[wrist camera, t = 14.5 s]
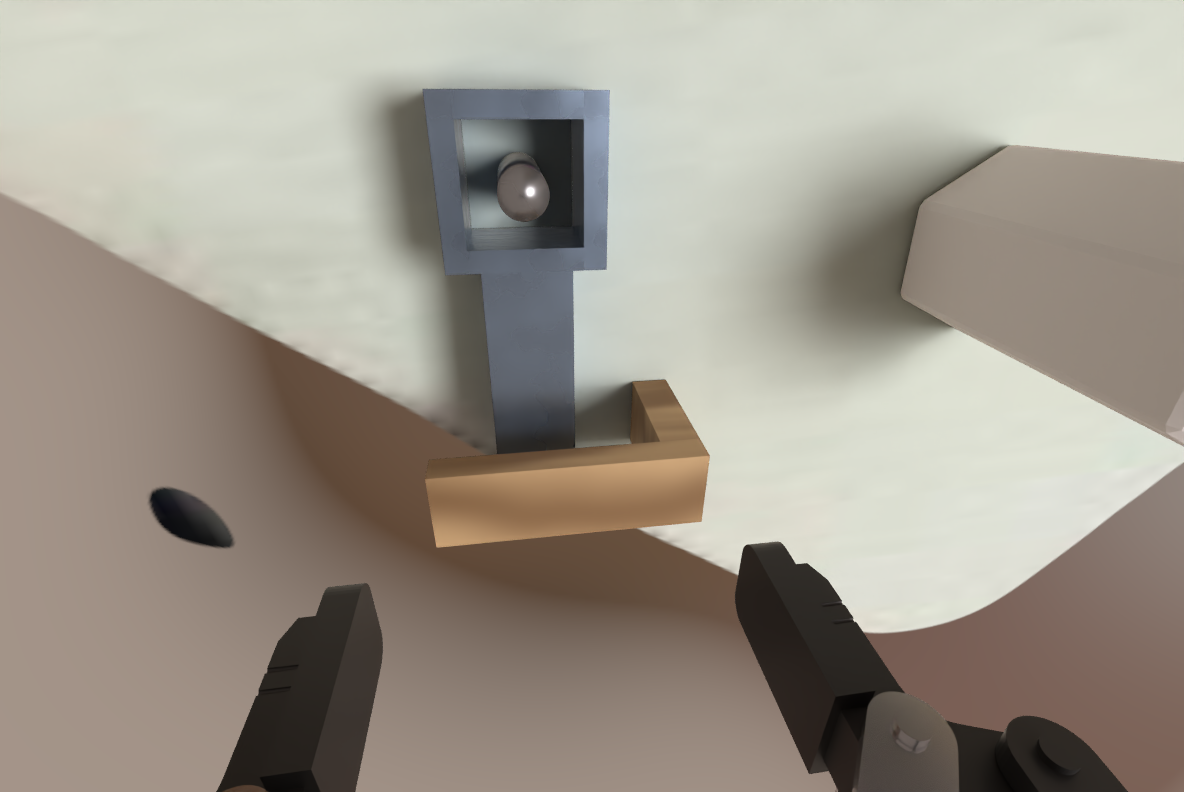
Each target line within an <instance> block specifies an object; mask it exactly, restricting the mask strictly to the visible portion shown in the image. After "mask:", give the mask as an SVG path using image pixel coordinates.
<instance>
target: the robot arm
mask: <svg viewBox="0 0 1184 792" xmlns="http://www.w3.org/2000/svg"><path fill="white" fill-rule="evenodd" d="M735 604H736V609H737V614H738V618H739V621H740V623H741V625H742V627H743V629H744V632H745V634H746V636H747V638H748V641H749V643H750V645H751V647H752V649H753V651H754V654H755V656H756V658H757V660H758V663H759V665H760V667H761V669H762V671H763V674H764V676H765V678H766V680H767V682H768V685H769V687H770V689H771V691H772V693H773V696H774V698H775V700H776V702H777V704H778V706H779V709H780V711H781V713H782V715H783V718H784V720H785V722H786V724H787V726H788V729H789V730H790V733H791V735H792V737H793V740H794V742H795V744H796V746H797V748H798V750H799V753H800V755H801V757H802V759H803V762H804V764H805V766H806V768H807V770H808V773H809V774H813V773H819V772H825V771H829V772H830V774H831V776H832V778H833V781H834V783H835V785H836V790H835V792H1128V791H1127V790H1126V789H1125V788H1124V787H1123V786H1122V784H1121V783H1120V782H1119V781H1118V779H1117V778H1116V777H1115V776H1114V775H1113V773H1112V772H1111V771H1110V770H1109V769H1108V768H1107V766H1106V765H1105V764H1104V763H1103V762H1102V760H1101V759H1100V758H1099V757H1098V756H1097V754H1096V753H1095V752H1094V751H1093V750H1092V749H1091V748H1090V747H1089V746H1088V745H1087V744H1086V743H1085V742H1084V741H1082V740H1081V739H1080V738H1079V737H1077V736H1076V735H1075V734H1074V733H1072V732H1070V731H1069V730H1067V729H1066V728H1064V727H1062V726H1060V725H1059V724H1057V723H1054V722H1052V721H1049V720H1047V719H1044V718H1040V717H1034V716H1021V717H1017V718H1015V719H1013V720H1012V721H1011V722H1010V723H1009V724H1008V726H1007V728H1006V729H1005V731H1004V732H999V731H994V730H988V729H983V728H977V727H972V726H966V725H961V724H957V723H952V722H949V721H946V720H945V719H944V718H943V717H942V716H941V715H940V714H939V713H938V712H937V711H936V710H935V709H933V708H932V707H931V706H930V705H928V704H927V703H925V702H924V701H922V700H920V699H918V698H916V697H914V696H912V695H909V694H906V693H905V692H904V691H903V690H902V689H901V687H900V686H899V685H898V683H897V682H896V680H895V679H894V677H893V676H892V675H891V673H890V671H889V670H888V668H887V667H886V666H885V664H884V663H883V661H882V660H881V658H880V657H879V655H878V654H877V652H876V651H875V649H874V648H873V646H872V645H871V643H870V642H869V640H868V639H867V637H866V636H865V634H864V633H863V631H862V630H861V628H860V627H859V625H858V624H857V623H856V622H854V621H853V617H852V615H851V614H850V612H849V611H848V609H847V608H846V606H845V605H843V604H842V600H841V599H840V597H839V596H838V594H837V593H836V591H835V590H834V588H833V587H832V585H831V584H830V583H829V581H828V580H827V579H826V578H825V577H823V576H822V575H821V574H820V573H818V572H817V571H816V570H815V569H814V568H812V567H811V566H810V565H809V564H807V563H805V564H795V562H794V560H793V559H792V557H791V556H790V554H789V552H788V551H787V549H786V548H785V546H784V545H783V544H782V543H781V542H769V543H760V544H750V545H746V546H745V547H744V549H743V552H742V558H741V563H740V569H739V575H738V580H737V586H736V592H735ZM382 653H383V642H382V633H381V629H380V625H379V621H378V617H377V613H376V609H375V605H374V601H373V598H372V594H371V590H370V587H369V585H368V584H367V583H364V584H355V585H345V586H335V587H328V588H327V589H326V590H325V592H324V595H323V597H322V600H321V602H320V605H319V608H318V611H317V614H316V616H313V617H304V618H298V619H297V620H296V621H295V622H294V624H293V625H292V626H291V627H290V628H289V630H288V631H287V632H286V633H285V634H284V635H283V637H282V638H281V639H280V640H279V641H278V643H277V646H276V648H275V650H274V653H273V655H272V658H271V661H270V663H269V665H268V668H267V669H268V671H267V673H266V674H265V675H264V678H263V680H262V683H261V685H260V688H259V694H258V696H256V698H255V700H254V703H253V705H252V708H251V710H250V713H249V715H248V717H247V720H246V722H245V725H244V728H243V730H242V732H241V735H240V737H239V740H238V742H237V745H236V747H235V750H234V752H233V755H232V757H231V760H230V762H229V765H228V767H227V770H226V772H225V775H224V777H223V780H222V782H221V784H220V786H219V788H218V790H217V791H216V792H355V790H356V785H357V780H358V776H359V771H360V765H361V761H362V756H363V751H364V746H365V742H366V736H367V732H368V727H369V722H370V717H371V713H372V708H373V703H374V698H375V692H376V688H377V683H378V678H379V674H380V669H381V663H382Z"/></svg>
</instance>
